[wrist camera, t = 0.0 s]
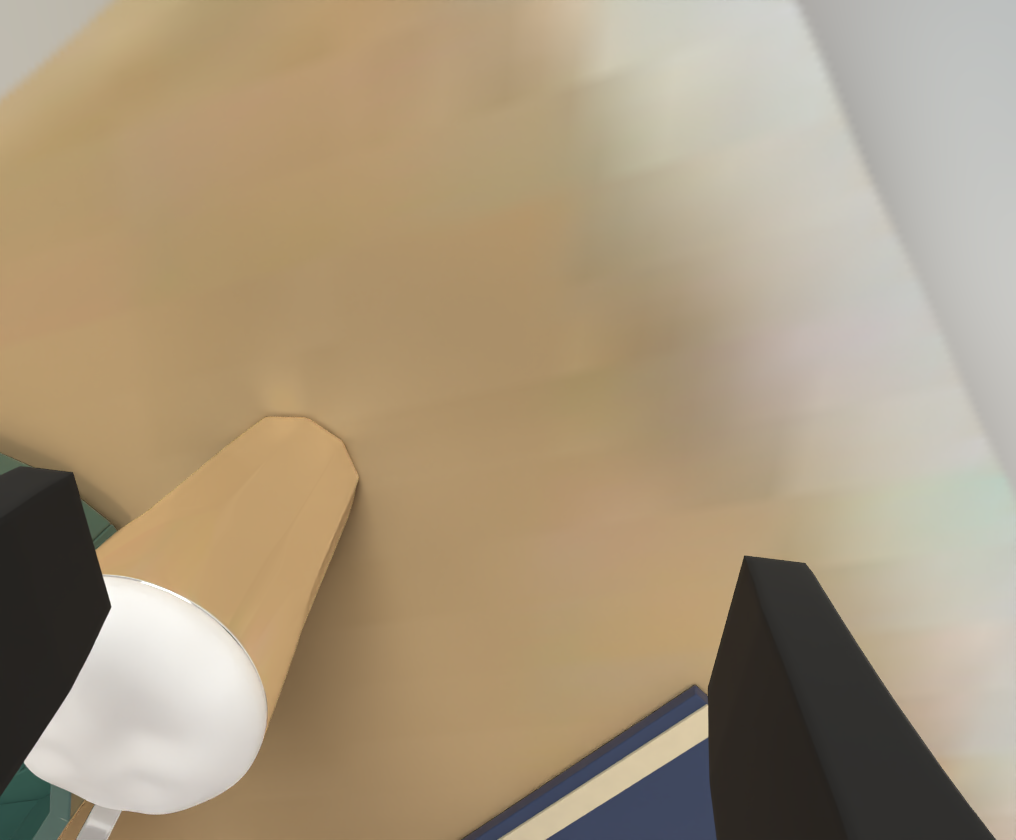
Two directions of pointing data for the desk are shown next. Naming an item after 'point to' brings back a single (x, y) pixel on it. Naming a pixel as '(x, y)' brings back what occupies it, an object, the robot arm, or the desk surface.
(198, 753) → the milkshake
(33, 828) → the bowl
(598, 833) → the blue notebook
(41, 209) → the desk surface
